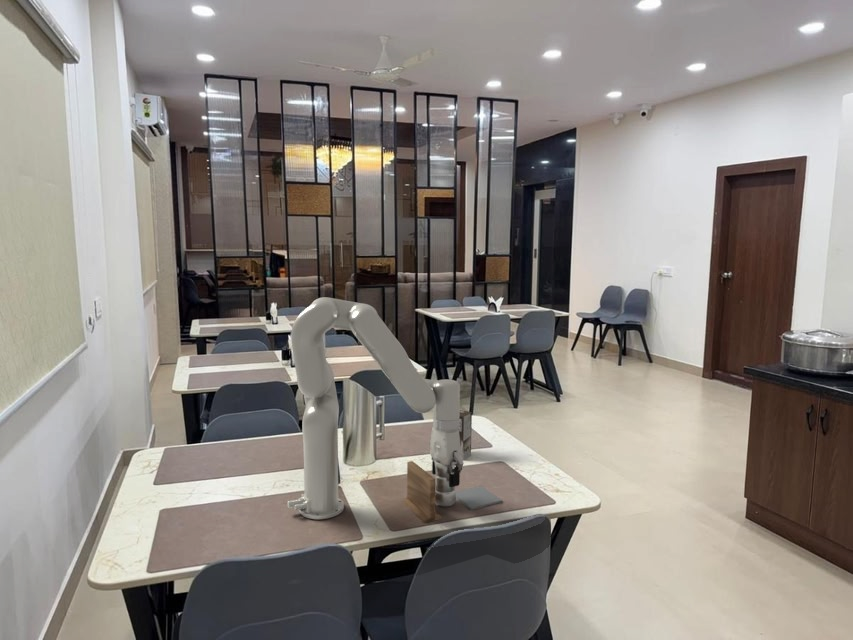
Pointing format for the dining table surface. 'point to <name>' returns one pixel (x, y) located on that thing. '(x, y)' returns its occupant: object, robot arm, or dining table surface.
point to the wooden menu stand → (420, 493)
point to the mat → (477, 497)
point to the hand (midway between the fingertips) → (445, 479)
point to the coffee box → (465, 433)
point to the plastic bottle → (443, 484)
